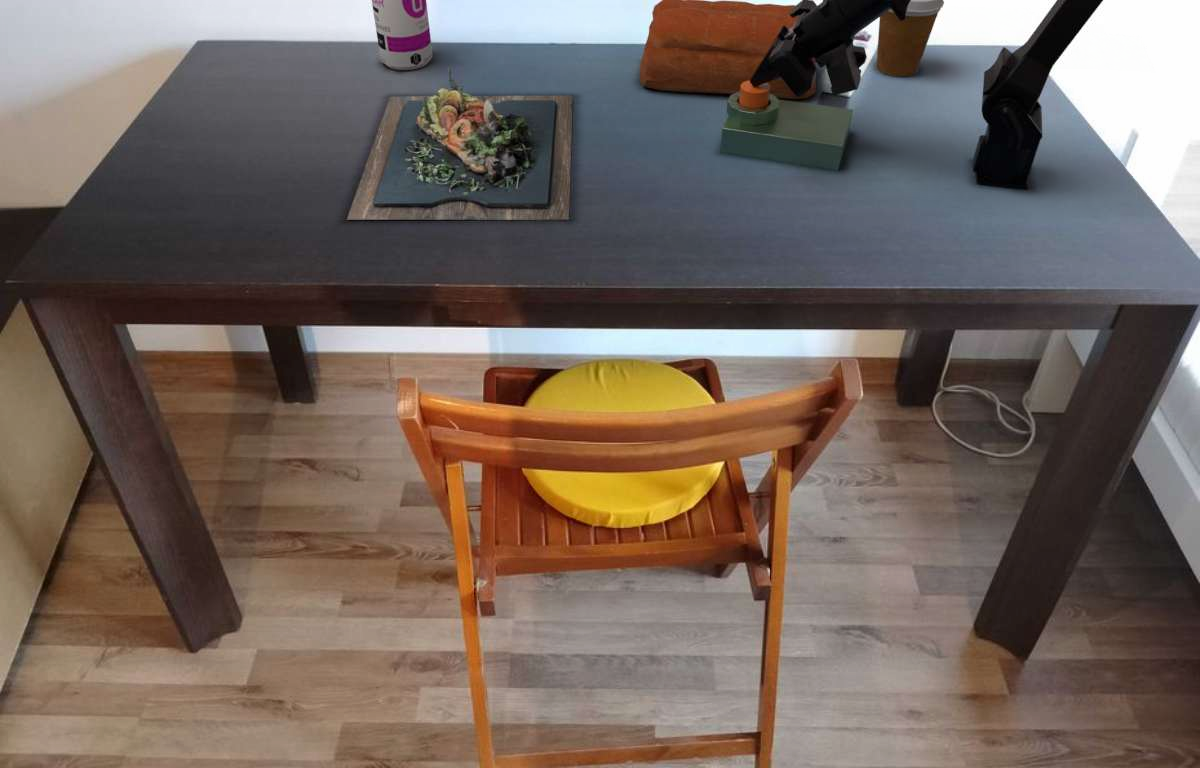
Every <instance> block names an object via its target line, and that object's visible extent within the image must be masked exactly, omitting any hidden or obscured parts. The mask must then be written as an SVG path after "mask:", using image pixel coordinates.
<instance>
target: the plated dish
mask: <svg viewBox="0 0 1200 768" xmlns="http://www.w3.org/2000/svg"><path fill="white" fill-rule="evenodd" d="M447 71H448V74H447V76H448V79H447V81H448V82H449V85H450V89H451V90H448V89H446V88H440V89H439V90H438V91H437V94H438V95H437V94H434V95H431V96H430V95H429V96H428V95H426V93H424V94H423V95H421V96H419V95H416V96H415V95H414V96H411V95H410V96H390V97H389V98H388V101H387V104H386V108H385V110H384V113H383V116H382V119H381V121H380V125H379V126H378V130H377V133H376V136H375V139H374V142H373V144H372V146H371V150H370V152H369V155H368V158H367V160H366V164H365V167H364V168H363V169H364V170H363V173H362V176H361V177H360V181H359V184H358V187H357V189H356V192H355V195H354V198H353V200H352V203H351V206H350V209H349V212H348V215H347V218H346V220H347V221H365V220H366V221H367V220H368V221H369V220H371V221H372V220H374V221H379V220H381V221H383V220H386V221H387V220H388V221H389V220H395V221H397V220H404V221H405V220H407V221H409V220H410V221H411V220H413V221H414V220H415V221H416V220H421V221H424V220H427V221H428V220H429V221H430V220H433V221H435V220H436V221H439V220H441V221H442V220H443V221H445V220H453V221H454V220H458V221H459V220H460V221H461V220H462V221H466V220H468V221H493V220H494V221H506V220H507V221H510V220H511V221H512V220H513V221H549V220H550V221H569V220H570V197H571V196H570V195H571V167H572V165H571V164H572V137H573V135H572V134H573V109H574V107H573V105H574V95H470V94H469V93H465V92H463V88H464V87H465V85H464V84H462V85H461V86H462V87H460V85H458V84H460V83H459V81H455V79H454V78H453V77H452V69H451V66H448V67H447ZM458 87H460V88H458ZM514 154H515V155H517V157H520V158H515V156H514Z"/></svg>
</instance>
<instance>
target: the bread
mask: <svg viewBox="0 0 1200 768" xmlns="http://www.w3.org/2000/svg"><path fill="white" fill-rule="evenodd" d="M796 5H797V4H790V5H787V4H786V5H783V4H776V3H775V4H774V3H762V4H761V3H759V4H755V3H752V2H747V1H737V0H714V1H711V0H660V1H659V2H658V3H656V4H655V5H654V6H653V9H652V15H651V16H652V20H651V22H650V24H649V26H648V36H647V38H646V41H645V44H644V47H643V53H642V57H641V61H640V66H639V67H640V68H639V74H638V76H639V82H640V83H641V85H642V86H643V88H648V89H654V90H659V91H665V92H680V93H699V94H700V93H701V94H702V93H703V94H721V95H732V94H734V93H737V92H739V91H740V87H741V84H742V83H743V82H745V81H749V80H750V79H751V77H752V76H753V74H754V73H755V71H756V69H757V68H758V66H759V64H760V63H761V61H762V60H763V58H764V56H765V54H766V53H767V51H768V50H769V48H770V46H771V45H772V43H773V41H774V40H775V38H776V36H777V35H778V33H779V31H780V30H781V28H782V27H783V26H786V27H787V29H788V30H789V29H790V28H792V27H793V26H794V24H795V22H796V21H797V19H798V17H799V15H797V16H796V17H794V18H792V17H791V16H790V13H791V11H792V8H793V7H795V6H796ZM813 60H814V65H815V67H816V68H817V63H816V62H815V58H814V57H813ZM767 83H768V84H769V85H770V94H772V95H774V96H776V97H777V99H789V100H799V99H808V98H810V97H812V96H813V95H815V94H816V89H817V88H816V85H817V74H816V75H815V79H814V82H813V85H812V87H811V89H810V90H809V91H807V92H806V93H804V94H803V95H801V96H800V97H798V96H796V95H795V94H794V93H793V92H792V90H791V89H790V88H789V87H788V85H787V84H786V83H785V82H784V80H783V79H782V78H778V79H775V80H773V81H770V82H767Z"/></svg>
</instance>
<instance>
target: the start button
mask: <svg viewBox="0 0 1200 768" xmlns="http://www.w3.org/2000/svg"><path fill="white" fill-rule="evenodd" d="M769 95H770V85H769V84H768V83H765V84H762V85H759V86H757V87H753V85H752V84H751V83H750V80H749V81H745V82H743V83H742V84H741V87H740V96H739V105H741V106H743V107H745V108H750V109H762V108H765V107H768V104H769Z"/></svg>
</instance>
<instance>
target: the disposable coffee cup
mask: <svg viewBox="0 0 1200 768" xmlns="http://www.w3.org/2000/svg"><path fill="white" fill-rule="evenodd" d="M944 4H945V1H944V0H911V1H910V3H909V5H908V10H907V14H906V18H905V20H904V21H900V20H899V18H898V17H897V16H896V14H895V13H894V12H893V10H892V9H890V10H888V11H887V12H886V13H884V14H883V15H882V16H880V17H879V21H878V23H879V24H878V35H877V36H878V37H877V51H876V52H877V54H876V68H877V70H878V71H879V72H880V73H883V74H885V75H888V76H891V77H910V76H914V75H915V74H917V72H918V70H919V68H920V64H921V61H922V58H923V56H924V53H925V50H926V49H927V48H926V47H927V45H928V42H929V39H930V36H931V33H932V31H933V28H934V25H935V23H936V20H937V17H938V14H939V12H940V11H941V9H942V8H943V7H944Z"/></svg>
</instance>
